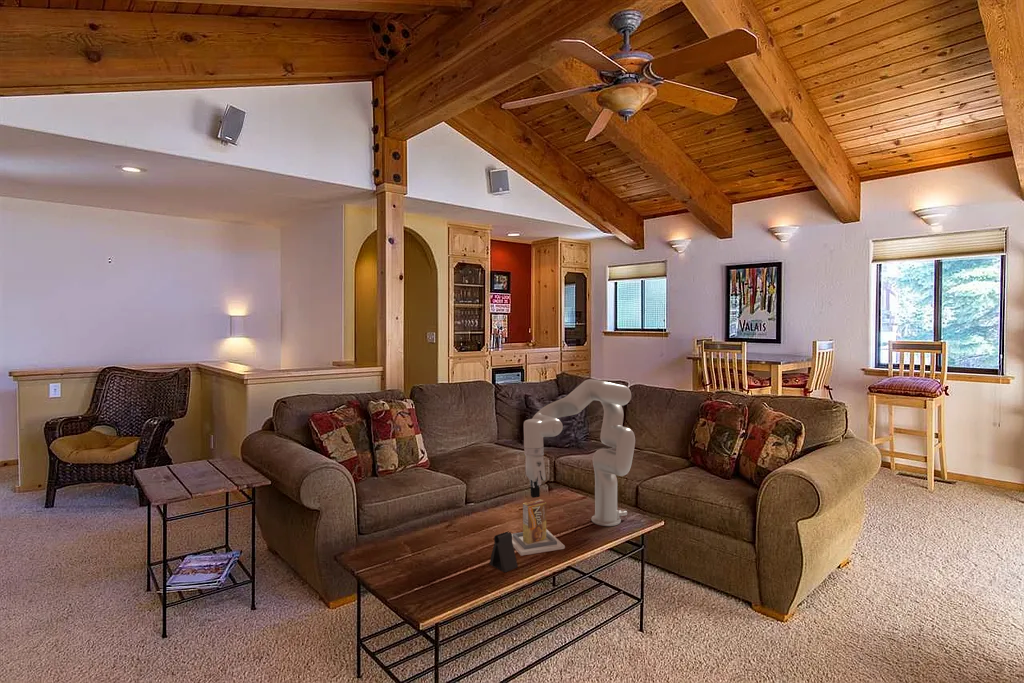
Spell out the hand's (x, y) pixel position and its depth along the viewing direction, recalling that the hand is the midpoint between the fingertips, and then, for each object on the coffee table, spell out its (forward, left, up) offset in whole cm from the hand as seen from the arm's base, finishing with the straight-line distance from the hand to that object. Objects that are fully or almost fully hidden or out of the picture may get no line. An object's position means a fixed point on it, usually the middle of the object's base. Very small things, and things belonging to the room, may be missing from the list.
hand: (535, 496), depth 232 cm
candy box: (0, 0, -18) cm, 18 cm away
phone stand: (+19, +15, -19) cm, 31 cm away
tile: (+1, 0, -19) cm, 19 cm away
